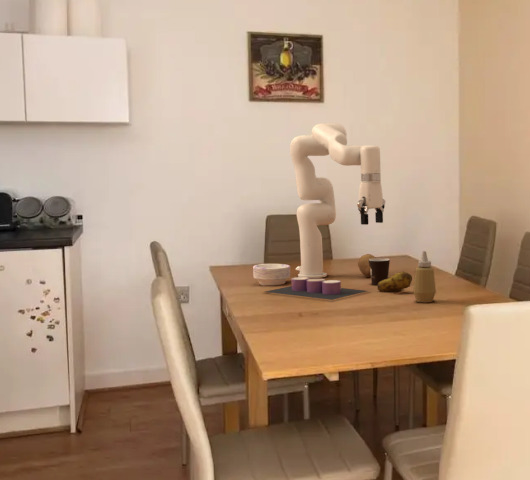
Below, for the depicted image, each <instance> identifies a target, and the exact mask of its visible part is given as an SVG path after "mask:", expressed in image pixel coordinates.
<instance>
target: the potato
mask: <svg viewBox="0 0 530 480" xmlns="http://www.w3.org/2000/svg"><path fill="white" fill-rule="evenodd" d="M412 282H413V276H412V275H411V273H410V272H407V271H400V272H396V273H394V274H393V275H391V276H390V277H388V279H385V280H383V281H381V282H379V283H378V285H377V290H378V291H379V292H381V293H392V292H393V293H394V292H400V291H402V290H405V289H407V288H410V287H411V284H412Z"/></svg>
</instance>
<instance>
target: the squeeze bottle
mask: <svg viewBox="0 0 530 480" xmlns="http://www.w3.org/2000/svg"><path fill="white" fill-rule="evenodd" d="M436 292H437V289H436V281H435V270H434V268H433V267H432V261H431V260H429V259H428V254H427V251H426V250H423V251H422V253H421V257H420V260H418V261H417V267H416V268H415V270H414V282H413V294H414V298H415V301H416V302H418V303H423V304H425V303H432V302H434V298H435V295H436Z"/></svg>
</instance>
